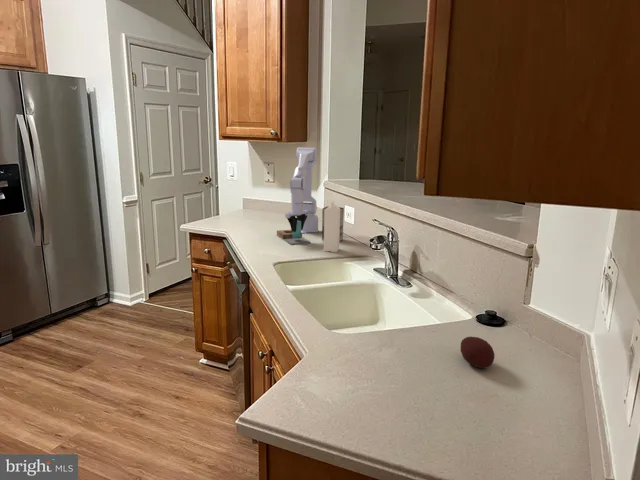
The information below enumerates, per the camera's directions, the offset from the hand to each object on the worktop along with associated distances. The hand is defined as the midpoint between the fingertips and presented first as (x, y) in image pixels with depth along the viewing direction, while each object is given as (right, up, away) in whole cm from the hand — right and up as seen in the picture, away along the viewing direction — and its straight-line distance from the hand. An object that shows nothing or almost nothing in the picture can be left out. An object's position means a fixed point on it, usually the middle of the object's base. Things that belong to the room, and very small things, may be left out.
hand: (297, 230), depth 223 cm
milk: (+16, -9, -13) cm, 23 cm away
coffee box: (+17, -5, +7) cm, 19 cm away
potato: (+48, -34, -113) cm, 127 cm away
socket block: (-4, -3, +11) cm, 12 cm away
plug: (0, -3, +1) cm, 3 cm away
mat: (0, -5, +1) cm, 5 cm away
